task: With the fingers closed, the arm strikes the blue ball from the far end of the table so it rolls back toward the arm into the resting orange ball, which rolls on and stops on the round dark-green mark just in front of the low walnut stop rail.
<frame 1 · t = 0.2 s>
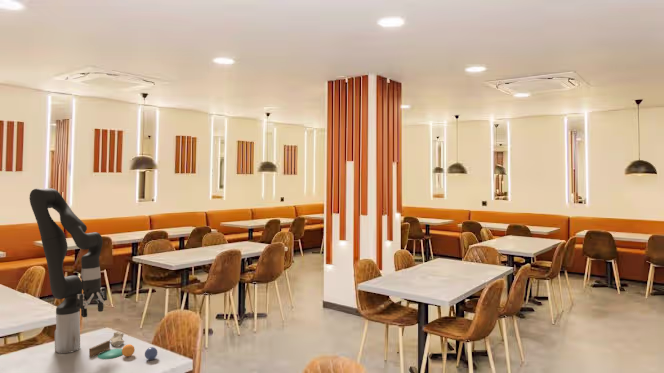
hand: (92, 314, 190), 17 cm above the table, fingers open, 8 cm apart
orange ball: (128, 350, 186), on the table
blue ball: (151, 353, 183), on the table
coral: (116, 344, 202), on the table
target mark: (111, 354, 189), on the table
stop rail: (99, 352, 191), on the table
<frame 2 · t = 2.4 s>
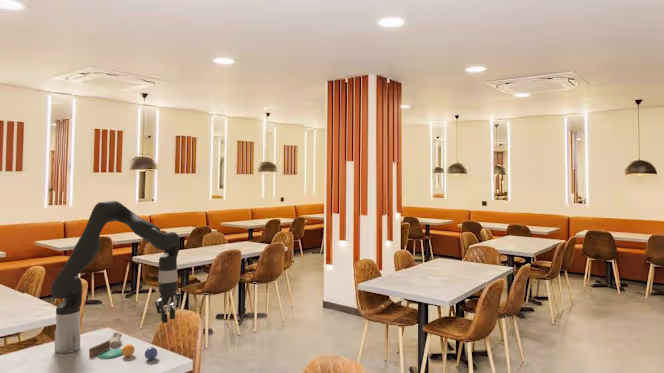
hand: (168, 320, 180), 17 cm above the table, fingers open, 4 cm apart
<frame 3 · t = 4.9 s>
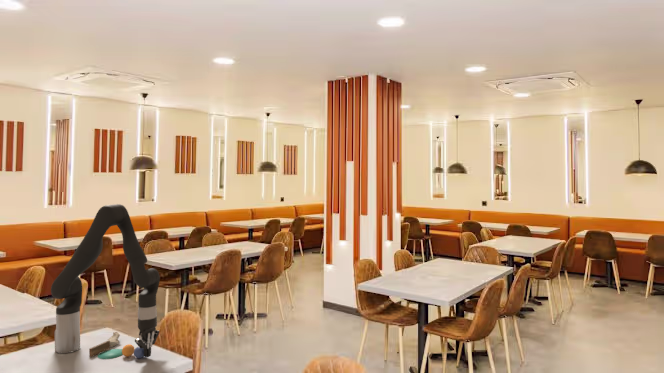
hand: (147, 356, 183), 1 cm above the table, fingers closed
blue ball: (140, 352, 184), on the table
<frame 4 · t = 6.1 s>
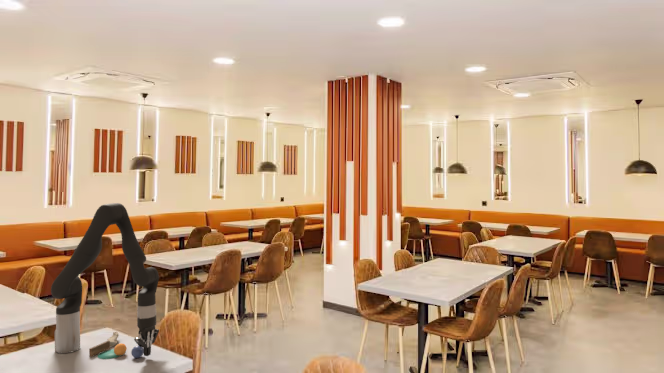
hand: (147, 355, 183), 2 cm above the table, fingers closed
orange ball: (120, 349, 187), on the table
blue ball: (137, 351, 185), on the table
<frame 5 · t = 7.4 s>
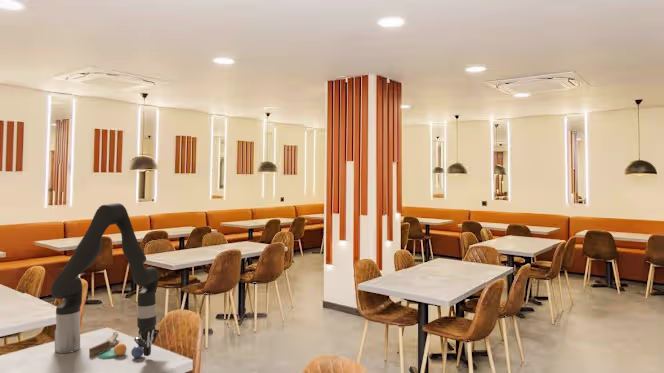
hand: (147, 355, 183), 2 cm above the table, fingers closed
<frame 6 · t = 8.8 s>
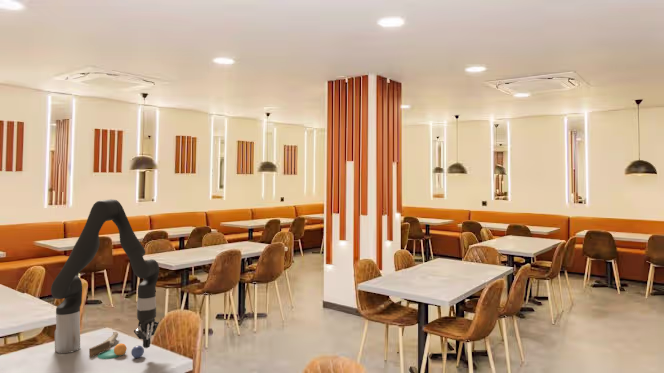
hand: (146, 347, 183), 5 cm above the table, fingers closed
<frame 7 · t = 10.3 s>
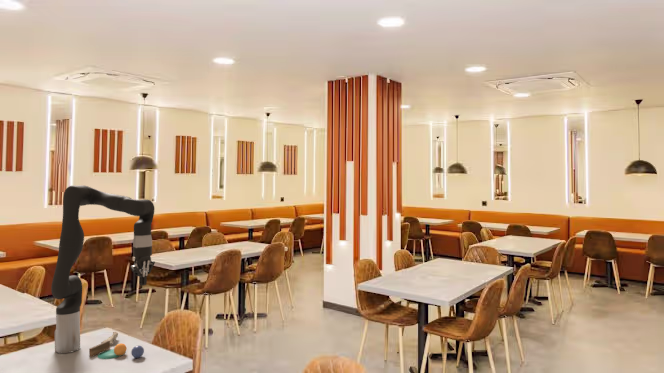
hand: (143, 284, 187), 31 cm above the table, fingers closed
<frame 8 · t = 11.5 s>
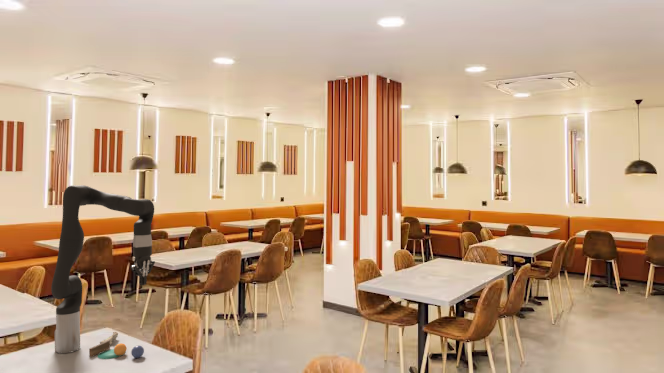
hand: (143, 284, 187), 31 cm above the table, fingers closed
at the end: orange ball 4.7 cm from the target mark (horizontally); orange ball never touched the robot; blue ball first touched orange ball at 5.0 s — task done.
